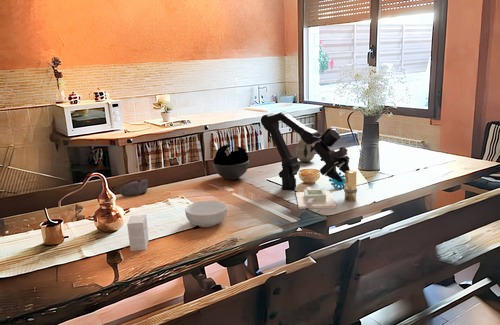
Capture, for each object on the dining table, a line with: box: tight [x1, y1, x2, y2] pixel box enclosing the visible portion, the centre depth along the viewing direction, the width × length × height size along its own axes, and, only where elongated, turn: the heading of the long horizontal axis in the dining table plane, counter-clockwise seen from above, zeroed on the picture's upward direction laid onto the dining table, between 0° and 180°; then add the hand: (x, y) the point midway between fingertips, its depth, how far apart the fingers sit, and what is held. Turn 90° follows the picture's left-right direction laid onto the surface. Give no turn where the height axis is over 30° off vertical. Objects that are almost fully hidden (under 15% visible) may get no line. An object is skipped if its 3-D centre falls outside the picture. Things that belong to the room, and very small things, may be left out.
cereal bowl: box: [184, 200, 228, 228], centre depth 175 cm, size 17×17×7 cm
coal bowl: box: [212, 144, 250, 180], centre depth 235 cm, size 20×20×19 cm
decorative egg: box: [295, 138, 316, 163], centre depth 265 cm, size 12×12×15 cm
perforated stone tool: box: [119, 178, 149, 197], centre depth 217 cm, size 15×5×7 cm, turn 117°
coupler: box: [343, 170, 358, 202], centre depth 194 cm, size 6×6×13 cm
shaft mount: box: [295, 186, 337, 210], centre depth 196 cm, size 16×23×4 cm
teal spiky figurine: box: [328, 171, 345, 190], centre depth 215 cm, size 11×6×10 cm
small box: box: [126, 214, 150, 252], centre depth 156 cm, size 8×6×10 cm
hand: (346, 179), depth 195 cm, fingers open, 9 cm apart
